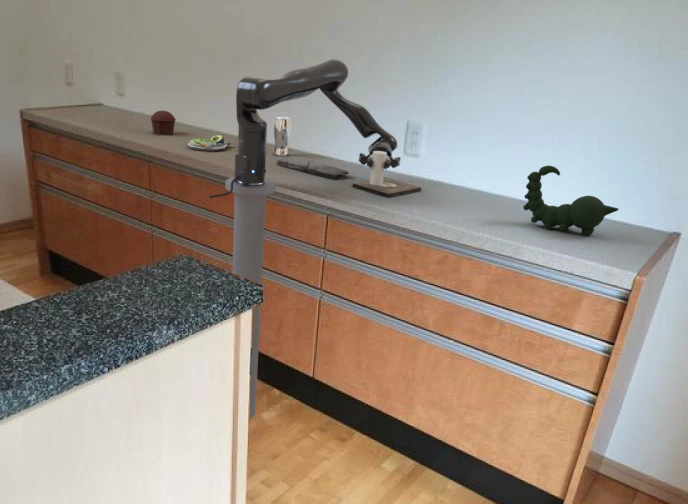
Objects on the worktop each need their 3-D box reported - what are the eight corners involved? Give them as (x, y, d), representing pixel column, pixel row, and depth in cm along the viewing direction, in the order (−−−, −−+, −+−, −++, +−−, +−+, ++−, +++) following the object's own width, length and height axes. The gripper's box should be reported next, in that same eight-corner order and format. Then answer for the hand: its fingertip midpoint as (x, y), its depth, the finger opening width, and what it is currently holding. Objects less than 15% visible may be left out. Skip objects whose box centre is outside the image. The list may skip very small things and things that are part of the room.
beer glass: (291, 156, 252) (293, 119, 246) (275, 156, 250) (277, 118, 244) (285, 152, 258) (288, 116, 252) (270, 152, 256) (272, 116, 249)
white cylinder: (376, 185, 192) (380, 154, 188) (366, 182, 195) (370, 151, 190) (385, 184, 194) (389, 153, 190) (375, 181, 197) (379, 150, 193)
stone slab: (334, 174, 216) (275, 155, 234) (332, 182, 218) (275, 163, 236) (352, 171, 223) (294, 153, 241) (350, 179, 225) (293, 161, 243)
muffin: (146, 132, 282) (145, 109, 278) (166, 130, 289) (166, 108, 285) (159, 136, 274) (159, 113, 270) (180, 134, 281) (180, 112, 277)
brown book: (388, 197, 200) (388, 193, 199) (352, 186, 210) (352, 182, 210) (420, 190, 211) (421, 186, 211) (385, 180, 222) (385, 177, 221)
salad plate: (226, 154, 247) (226, 142, 245) (182, 150, 248) (182, 139, 246) (232, 145, 265) (233, 134, 263) (192, 142, 265) (192, 131, 264)
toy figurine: (518, 230, 180) (611, 242, 168) (526, 166, 173) (624, 173, 161) (524, 223, 188) (614, 234, 175) (532, 161, 181) (627, 168, 168)
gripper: (360, 141, 204) (356, 150, 189) (403, 146, 202) (402, 155, 187) (358, 164, 207) (354, 174, 192) (400, 168, 205) (399, 179, 190)
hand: (378, 165), depth 189 cm, fingers closed on white cylinder, 4 cm apart
